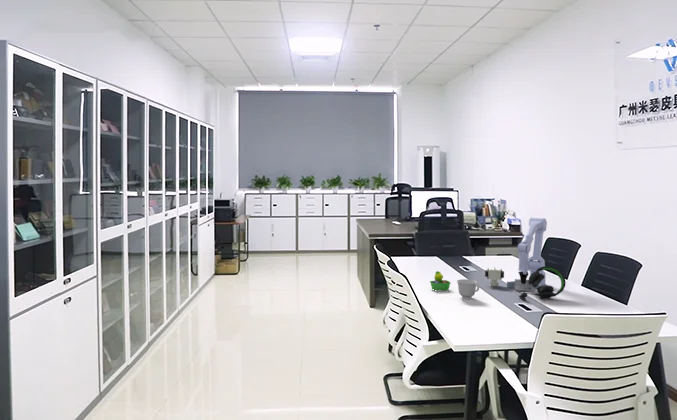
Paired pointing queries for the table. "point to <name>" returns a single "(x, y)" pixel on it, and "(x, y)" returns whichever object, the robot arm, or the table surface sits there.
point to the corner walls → (512, 284)
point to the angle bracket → (522, 285)
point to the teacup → (467, 288)
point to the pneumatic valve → (494, 275)
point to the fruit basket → (439, 282)
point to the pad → (523, 291)
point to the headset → (546, 290)
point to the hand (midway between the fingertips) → (523, 283)
